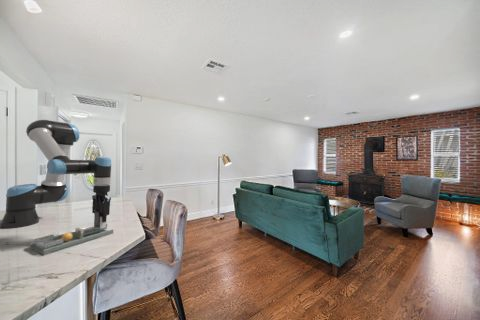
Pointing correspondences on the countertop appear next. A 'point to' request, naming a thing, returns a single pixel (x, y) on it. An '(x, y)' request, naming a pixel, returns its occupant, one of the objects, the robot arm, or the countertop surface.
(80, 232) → the block
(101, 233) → the grey-green channel tray
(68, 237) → the ball
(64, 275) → the countertop surface
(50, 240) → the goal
